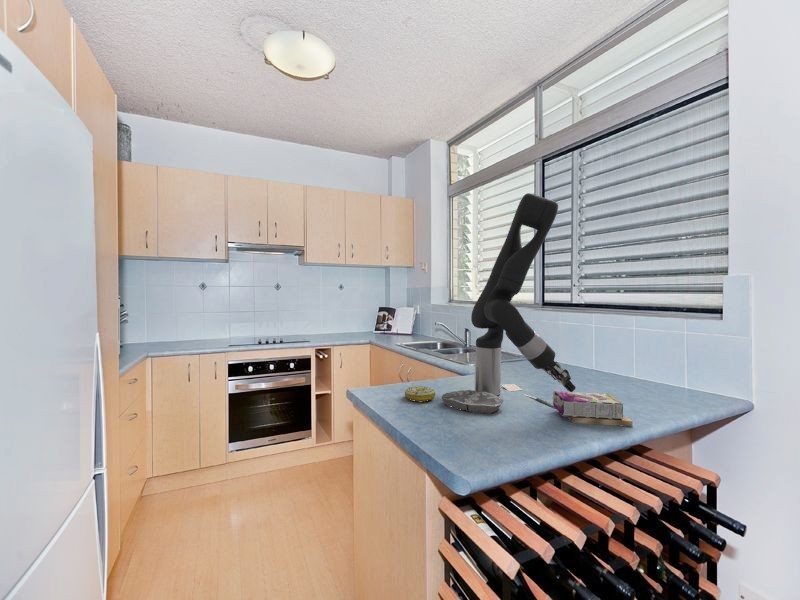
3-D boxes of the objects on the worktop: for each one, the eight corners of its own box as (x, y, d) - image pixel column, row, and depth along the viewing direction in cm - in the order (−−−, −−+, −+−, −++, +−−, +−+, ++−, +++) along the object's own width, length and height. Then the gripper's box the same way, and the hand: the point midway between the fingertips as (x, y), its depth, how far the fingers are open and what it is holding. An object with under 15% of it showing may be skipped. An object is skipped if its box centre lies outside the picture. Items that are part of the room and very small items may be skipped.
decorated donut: (424, 393, 136) (425, 383, 136) (440, 401, 127) (441, 390, 127) (399, 396, 132) (399, 386, 131) (414, 405, 122) (414, 393, 122)
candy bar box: (552, 389, 118) (607, 393, 116) (552, 405, 118) (607, 408, 116) (563, 399, 107) (624, 403, 105) (562, 416, 107) (623, 420, 105)
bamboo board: (572, 422, 107) (572, 417, 107) (557, 405, 123) (557, 401, 123) (632, 426, 105) (632, 421, 105) (609, 408, 120) (609, 404, 120)
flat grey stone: (507, 403, 126) (507, 394, 126) (498, 418, 111) (498, 408, 110) (451, 395, 134) (451, 387, 134) (436, 408, 119) (436, 399, 119)
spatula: (514, 387, 148) (514, 383, 148) (567, 410, 120) (567, 406, 120) (500, 388, 146) (500, 384, 146) (551, 412, 118) (551, 407, 118)
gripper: (555, 344, 105) (594, 386, 107) (533, 338, 118) (568, 375, 120) (537, 362, 104) (576, 405, 106) (517, 354, 118) (552, 392, 119)
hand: (572, 389), depth 113 cm, fingers closed
